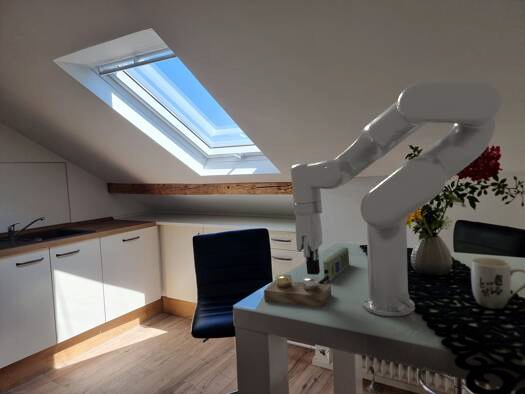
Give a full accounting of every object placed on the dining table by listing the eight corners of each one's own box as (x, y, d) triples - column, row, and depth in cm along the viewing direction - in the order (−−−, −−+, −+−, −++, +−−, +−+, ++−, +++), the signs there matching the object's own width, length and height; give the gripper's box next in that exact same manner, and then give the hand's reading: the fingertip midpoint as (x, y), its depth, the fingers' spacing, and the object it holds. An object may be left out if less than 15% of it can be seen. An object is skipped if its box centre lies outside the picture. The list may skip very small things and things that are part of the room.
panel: (331, 294, 105) (330, 284, 105) (323, 307, 97) (322, 296, 97) (276, 289, 112) (275, 280, 112) (264, 300, 104) (263, 290, 104)
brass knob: (294, 296, 105) (293, 277, 104) (279, 298, 104) (278, 280, 103) (289, 291, 109) (288, 273, 109) (275, 293, 108) (274, 275, 108)
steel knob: (322, 299, 102) (321, 279, 101) (307, 301, 101) (306, 282, 100) (315, 293, 106) (315, 275, 105) (301, 296, 105) (300, 277, 104)
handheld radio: (351, 265, 134) (326, 287, 112) (342, 265, 135) (316, 286, 114) (349, 247, 133) (324, 266, 112) (340, 247, 135) (314, 265, 113)
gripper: (303, 205, 109) (308, 265, 110) (285, 213, 95) (292, 281, 97) (328, 204, 106) (333, 266, 107) (313, 211, 92) (319, 283, 94)
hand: (313, 273), depth 102 cm, fingers closed
